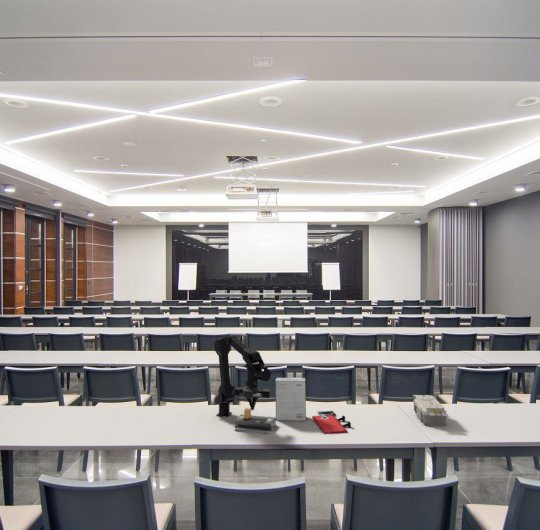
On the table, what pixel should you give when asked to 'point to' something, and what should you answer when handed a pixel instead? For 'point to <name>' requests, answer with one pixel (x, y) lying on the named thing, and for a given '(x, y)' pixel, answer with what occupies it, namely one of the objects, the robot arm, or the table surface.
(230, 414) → the robot arm
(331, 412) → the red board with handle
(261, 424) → the strip
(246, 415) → the lever
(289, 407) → the hard drive box
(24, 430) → the table surface
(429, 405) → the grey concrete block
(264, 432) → the dark grey thin bar
